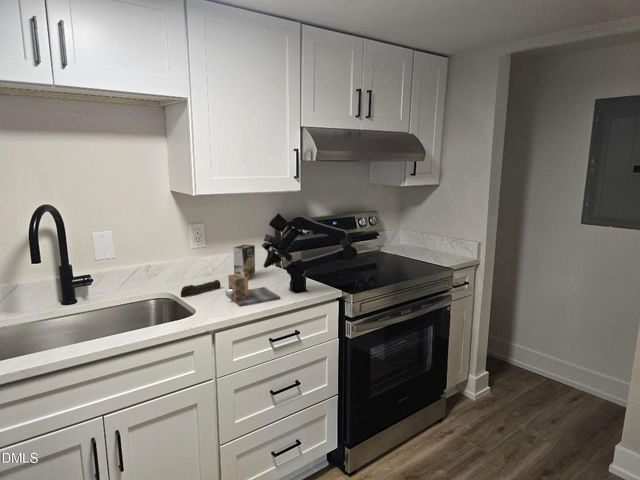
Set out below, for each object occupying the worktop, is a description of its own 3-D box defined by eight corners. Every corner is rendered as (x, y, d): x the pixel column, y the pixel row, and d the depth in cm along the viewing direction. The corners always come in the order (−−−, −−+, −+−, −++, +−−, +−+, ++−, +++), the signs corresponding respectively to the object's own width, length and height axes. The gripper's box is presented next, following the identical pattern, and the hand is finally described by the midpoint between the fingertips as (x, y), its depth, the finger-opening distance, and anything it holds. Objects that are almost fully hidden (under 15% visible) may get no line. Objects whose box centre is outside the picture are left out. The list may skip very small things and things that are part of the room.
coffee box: (244, 281, 204) (243, 248, 201) (233, 279, 207) (232, 247, 204) (255, 276, 212) (254, 245, 209) (245, 275, 215) (244, 244, 212)
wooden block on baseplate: (264, 289, 192) (264, 267, 190) (280, 299, 179) (279, 276, 177) (226, 295, 183) (225, 273, 181) (239, 306, 170) (238, 282, 168)
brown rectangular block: (244, 293, 181) (243, 275, 180) (248, 296, 177) (247, 278, 176) (224, 296, 177) (223, 278, 175) (228, 300, 173) (227, 281, 171)
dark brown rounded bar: (216, 287, 196) (215, 277, 195) (221, 289, 193) (220, 279, 192) (178, 296, 182) (177, 286, 182) (182, 298, 180) (181, 288, 179)
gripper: (265, 224, 188) (242, 251, 185) (285, 230, 173) (261, 260, 169) (281, 239, 194) (259, 266, 190) (302, 247, 179) (279, 276, 175)
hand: (264, 267), depth 181 cm, fingers closed
